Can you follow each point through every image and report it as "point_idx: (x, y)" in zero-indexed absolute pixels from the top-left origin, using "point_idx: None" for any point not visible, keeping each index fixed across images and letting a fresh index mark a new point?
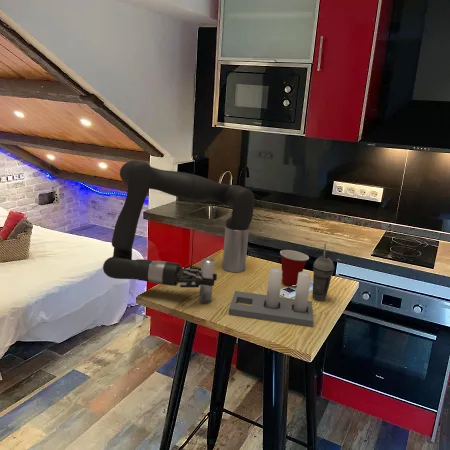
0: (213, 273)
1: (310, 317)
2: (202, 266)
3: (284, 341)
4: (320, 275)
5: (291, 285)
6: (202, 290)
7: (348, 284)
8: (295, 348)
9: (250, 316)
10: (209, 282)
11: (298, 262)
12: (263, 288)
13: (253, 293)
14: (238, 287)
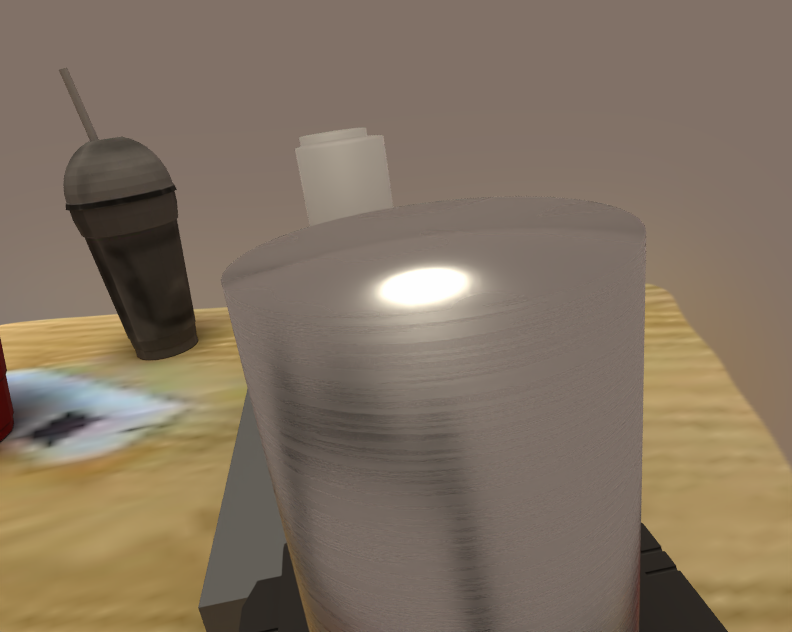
0: (281, 584)
1: None
2: (628, 459)
3: (657, 322)
4: (172, 216)
5: (10, 422)
6: None
7: (12, 329)
8: (671, 299)
9: None
10: (649, 553)
11: None
12: (22, 525)
13: (228, 482)
14: None
